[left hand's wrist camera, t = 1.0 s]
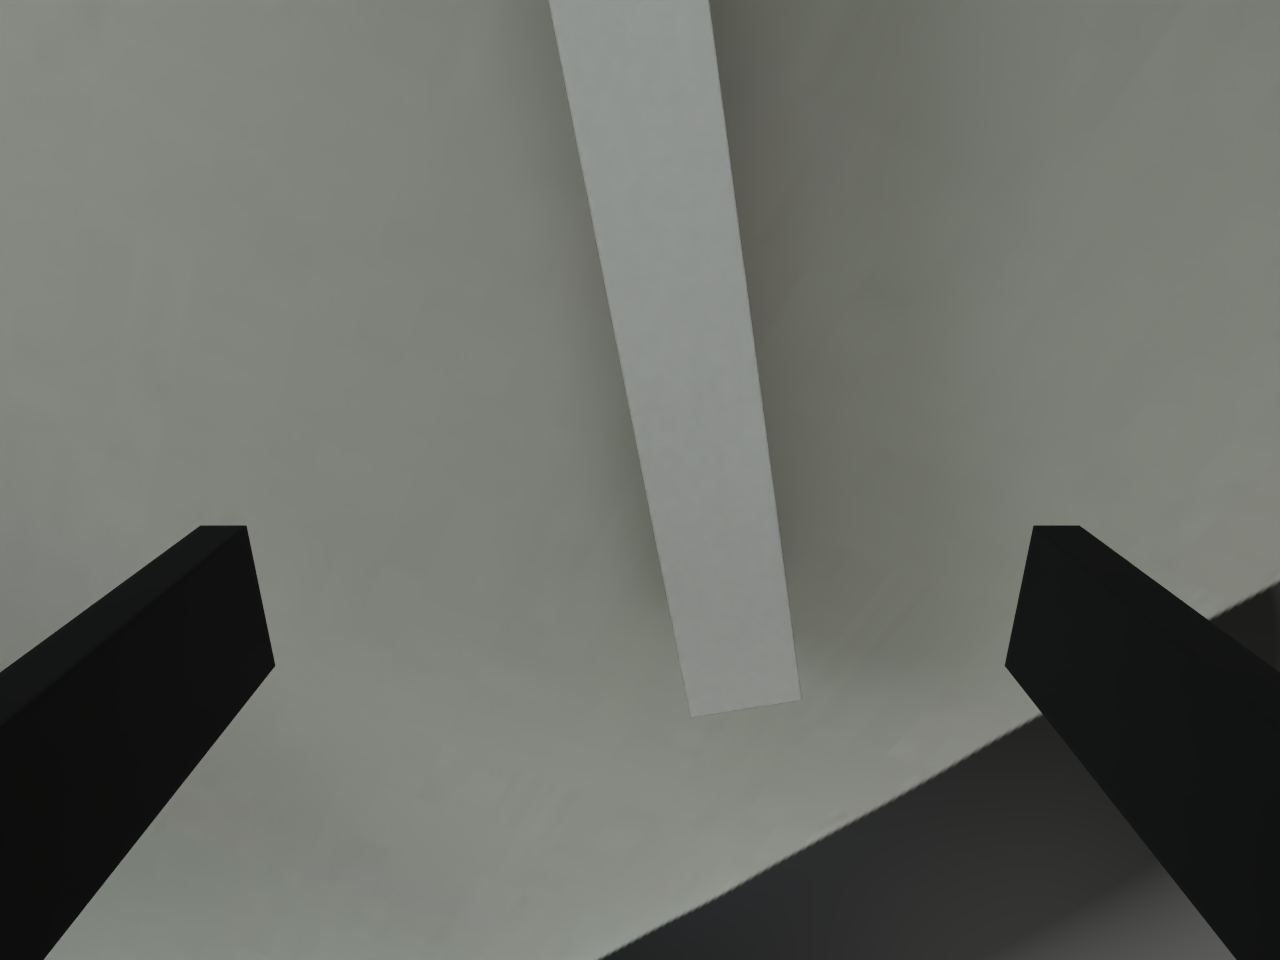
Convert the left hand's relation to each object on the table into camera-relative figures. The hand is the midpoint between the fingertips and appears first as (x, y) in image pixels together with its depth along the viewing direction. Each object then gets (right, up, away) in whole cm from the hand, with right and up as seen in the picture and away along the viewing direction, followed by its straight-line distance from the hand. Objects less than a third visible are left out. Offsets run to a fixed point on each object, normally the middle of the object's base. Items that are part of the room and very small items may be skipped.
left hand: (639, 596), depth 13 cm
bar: (-2, +23, +12) cm, 26 cm away
